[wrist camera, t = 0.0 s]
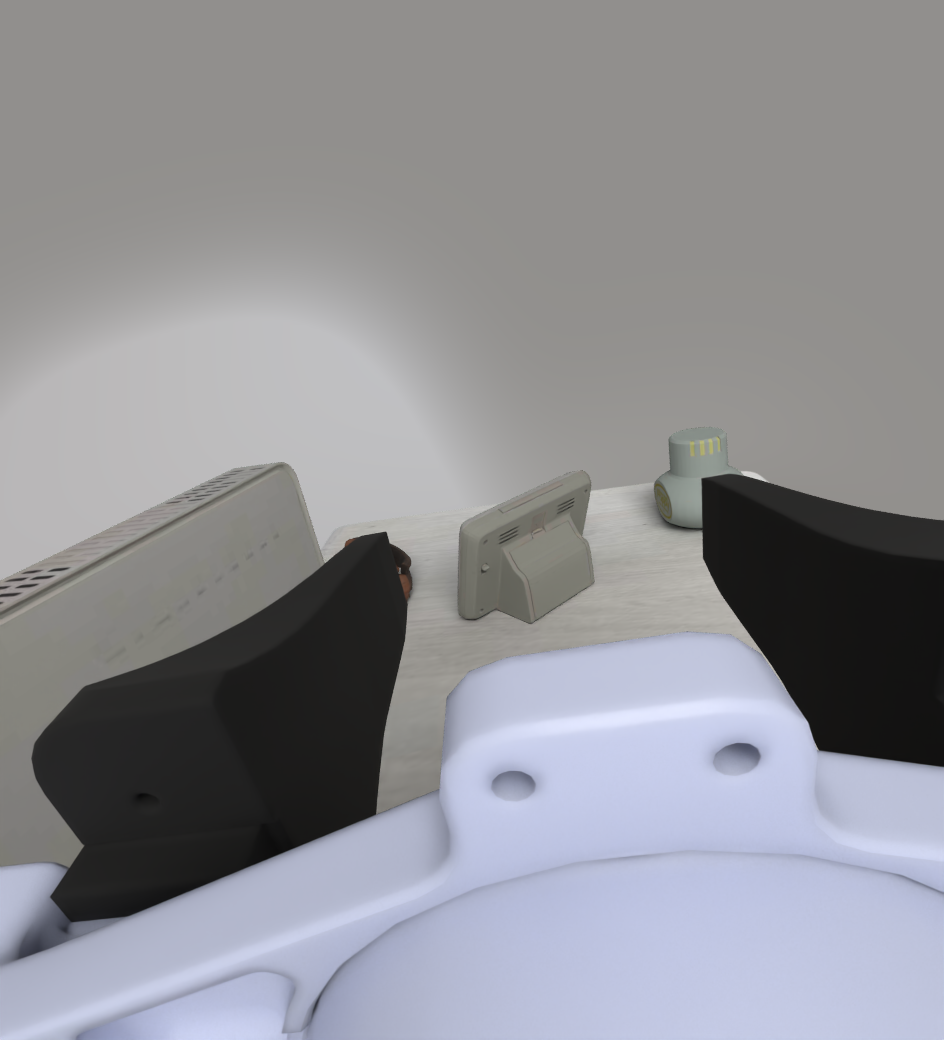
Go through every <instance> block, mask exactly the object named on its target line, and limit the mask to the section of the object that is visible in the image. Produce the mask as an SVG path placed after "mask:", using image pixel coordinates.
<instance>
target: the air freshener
mask: <svg viewBox="0 0 944 1040" xmlns="http://www.w3.org/2000/svg"><path fill="white" fill-rule="evenodd" d="M669 455H670V470H669V471H667V472H666V473H664V474H663V475H662V476H660V477H659V478H658V479H657V480H656V481H655V483H654V494H655V499H656V503H657V506H658V508H659V511H660V513H661V515H662V516H663V518H664V519H665V520H666V521H667V522H670V523H672V524H675V525H678V526H681V527H687V528H702V486H701V478H706V477H712V476H718V475H724V474H738V475H742V476H744V475H743V474H742V473H741V472H740V471H739V470H738V469H736V468H733V467H731V466H728V452H727V434H726V433H725V432H724V431H723V430H722V429H719V428H713V427H702V428H691V429H686V430H682V431H679V432H676V433H674V434H672V435H671V437H670V438H669Z"/></svg>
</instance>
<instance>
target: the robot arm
mask: <svg viewBox="0 0 944 1040" xmlns="http://www.w3.org/2000/svg"><path fill="white" fill-rule="evenodd" d="M701 486H702V532H703V559H704V561H705V563H706V565H707V567H708V570H709V572H710V574H711V576H712V578H713V580H714V582H715V584H716V586H717V588H718V590H719V592H720V593H721V595H722V596H723V598H724V599H725V601H726V602H727V603H728V605H729V606H730V608H731V609H732V611H733V612H734V613H735V615H736V616H737V618H738V619H739V620H740V622H741V623H742V625H743V626H744V627H745V629H746V630H747V632H748V633H749V634H750V636H751V637H752V639H753V640H754V641H755V643H756V644H757V646H758V647H759V648H760V650H761V651H762V652H763V654H764V655H765V657H766V658H767V659H768V661H769V662H770V664H771V665H772V667H773V668H774V670H775V671H776V673H777V674H778V676H779V678H780V679H781V681H782V682H783V684H784V686H785V688H786V689H787V691H788V692H787V691H786V690H785V688H784V687H783V685H782V684H781V682H780V681H779V679H778V678H777V676H776V675H775V673H774V672H773V671H772V669H771V668H770V666H769V665H768V663H767V662H766V660H765V659H764V657H763V656H762V655H761V654H760V653H759V652H757V651H756V650H754V649H753V648H751V647H749V646H748V645H746V644H745V643H743V642H742V641H740V640H738V639H737V638H735V637H734V636H732V635H731V634H718V633H703V632H688V631H687V632H680V633H673V634H666V635H659V636H652V637H645V638H638V639H631V640H624V641H617V642H610V643H603V644H596V645H589V646H582V647H575V648H568V649H561V650H554V651H547V652H540V653H533V654H526V655H519V656H512V657H506V658H504V659H501V660H498V661H495V662H493V663H490V664H487V665H485V666H482V667H479V668H477V669H474V670H471V671H469V672H468V673H467V674H466V676H465V677H464V678H463V679H462V680H461V681H460V683H459V684H458V685H457V686H456V687H455V688H454V689H453V691H452V692H451V693H450V694H449V695H448V696H447V702H446V714H445V726H444V738H443V751H442V763H441V777H440V789H438V790H435V791H433V792H430V793H428V794H426V795H423V796H421V797H418V798H416V799H413V800H411V801H408V802H406V803H404V804H401V805H399V806H396V807H394V808H391V809H389V810H387V811H384V812H382V813H379V814H377V815H376V807H377V796H378V785H379V774H380V765H381V756H382V747H383V738H384V731H385V726H386V720H387V715H388V711H389V707H390V703H391V698H392V694H393V690H394V686H395V681H396V677H397V673H398V669H399V664H400V660H401V655H402V651H403V646H404V642H405V634H406V622H407V605H408V604H407V601H406V597H405V594H404V590H403V587H402V584H401V580H400V577H399V573H398V570H397V566H396V563H395V560H394V556H393V553H392V549H391V546H390V543H389V539H388V536H387V532H381V533H375V534H370V535H364V536H360V537H359V538H357V539H355V540H354V541H352V542H351V543H350V544H348V545H347V546H346V547H345V548H343V549H342V550H341V551H340V552H338V553H337V554H336V555H335V556H334V557H332V558H331V559H330V560H329V561H327V562H326V563H325V564H324V565H323V566H321V567H320V568H319V569H318V570H317V571H315V572H314V573H313V574H312V575H310V576H309V577H308V578H306V579H305V580H304V581H302V582H301V583H300V584H298V585H297V586H296V587H294V588H293V589H292V590H290V591H289V592H288V593H286V594H285V595H284V596H282V597H281V598H279V599H278V600H276V601H275V602H273V603H272V604H270V605H269V606H267V607H266V608H264V609H263V610H261V611H259V612H258V613H256V614H254V615H253V616H251V617H249V618H248V619H246V620H244V621H243V622H241V623H239V624H237V625H235V626H233V627H231V628H229V629H227V630H225V631H223V632H221V633H219V634H218V635H216V636H214V637H212V638H210V639H208V640H206V641H204V642H202V643H200V644H197V645H195V646H193V647H191V648H188V649H186V650H184V651H181V652H179V653H177V654H174V655H172V656H169V657H167V658H164V659H162V660H159V661H157V662H154V663H152V664H149V665H146V666H144V667H141V668H138V669H135V670H132V671H129V672H126V673H123V674H120V675H117V676H114V677H111V678H108V679H105V680H102V681H99V682H96V683H93V684H89V685H86V686H84V687H83V688H82V689H81V690H80V691H79V692H78V693H77V695H76V696H75V697H74V698H73V699H72V700H71V701H70V702H69V703H68V704H67V705H66V707H65V708H64V709H63V710H62V711H61V712H60V713H59V714H58V715H57V716H56V717H55V719H54V720H53V721H52V722H51V723H50V724H49V725H48V726H47V727H46V728H45V730H44V731H43V732H42V734H41V735H40V736H39V738H38V739H37V740H36V742H35V743H34V748H33V752H32V757H31V760H32V765H33V770H34V775H35V778H36V780H37V782H38V784H39V786H40V787H41V789H42V791H43V793H44V794H45V796H46V797H47V798H48V800H49V801H50V802H51V804H52V805H53V806H54V808H55V809H56V810H57V812H58V813H59V814H60V815H61V817H62V818H63V819H64V821H65V822H66V823H67V825H68V826H69V827H70V829H71V830H72V831H73V833H74V834H75V835H76V837H77V838H78V839H79V841H80V842H81V843H82V844H83V845H84V847H83V848H82V850H81V851H80V853H79V854H78V856H77V857H76V859H75V860H74V862H73V863H72V865H71V866H70V868H68V867H67V866H65V865H62V864H59V863H57V862H46V861H43V862H34V863H26V864H17V865H8V866H0V1040H944V521H943V520H933V519H925V518H918V517H911V516H905V515H899V514H893V513H887V512H881V511H874V510H870V509H865V508H860V507H856V506H851V505H847V504H843V503H839V502H835V501H831V500H827V499H823V498H819V497H816V496H812V495H808V494H805V493H801V492H798V491H795V490H791V489H787V488H784V487H781V486H778V485H774V484H771V483H768V482H764V481H761V480H758V479H754V478H750V477H747V476H742V475H738V474H724V475H718V476H712V477H706V478H701ZM788 693H789V694H788ZM814 742H815V743H814ZM815 744H816V745H817V747H818V749H819V751H818V750H817V749H816V746H815Z"/></svg>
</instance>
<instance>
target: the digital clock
mask: <svg viewBox="0 0 944 1040" xmlns="http://www.w3.org/2000/svg"><path fill="white" fill-rule="evenodd" d="M590 491H591V480H590V477H589V475H588V474H587V473H586V472H585V471H583V470H580V471H574V472H569V473H566V474H564V475H562V476H559V477H557V478H555V479H553V480H551V481H549V482H546V483H544V484H542V485H540V486H538V487H536V488H534V489H531V490H530V491H527V492H525V493H523V494H521V495H519V496H516V497H514V498H512V499H510V500H508V501H506V502H504V503H501V504H499V505H497V506H495V507H493V508H491V509H489V510H487V511H484V512H482V513H480V514H478V515H476V516H474V517H472V518H470V519H468V520H467V521H465V522H464V523H463V524H462V525H461V527H460V533H459V561H458V612H459V615H460V616H462V617H463V618H465V619H477V618H479V617H481V616H483V615H485V614H487V613H489V612H490V611H492V610H494V609H497V610H499V611H502V612H504V613H506V614H509V615H511V616H513V617H516V618H518V619H520V620H523V621H525V622H527V623H533V622H534V621H536V620H537V619H539V618H540V617H542V616H543V615H545V614H546V613H548V612H550V611H551V610H553V609H554V608H556V607H557V606H559V605H560V604H562V603H563V602H565V601H567V600H568V599H570V598H571V597H573V596H574V595H576V594H577V593H579V592H580V591H582V590H584V589H585V588H587V587H588V586H590V585H591V584H593V583H594V574H593V566H592V558H591V551H590V547H589V544H588V541H587V540H586V539H585V538H583V537H582V534H583V529H584V524H585V518H586V513H587V508H588V502H589V497H590Z"/></svg>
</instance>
